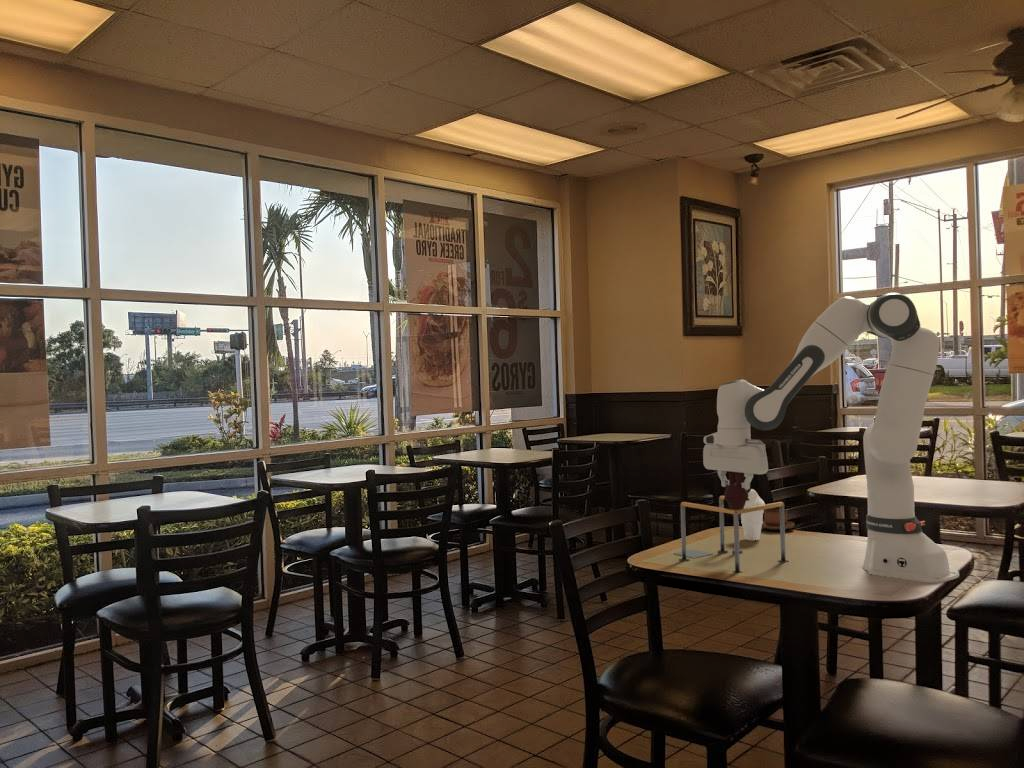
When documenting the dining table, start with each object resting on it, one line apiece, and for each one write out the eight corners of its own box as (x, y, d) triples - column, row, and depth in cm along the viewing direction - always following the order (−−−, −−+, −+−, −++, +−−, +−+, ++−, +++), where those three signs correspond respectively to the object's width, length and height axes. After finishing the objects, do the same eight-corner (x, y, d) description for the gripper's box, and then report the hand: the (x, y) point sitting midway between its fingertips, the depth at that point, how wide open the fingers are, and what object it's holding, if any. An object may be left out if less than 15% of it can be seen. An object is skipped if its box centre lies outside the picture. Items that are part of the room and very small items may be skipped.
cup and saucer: (755, 525, 276) (754, 507, 276) (791, 525, 274) (791, 507, 274) (760, 532, 264) (759, 513, 264) (797, 532, 262) (797, 513, 262)
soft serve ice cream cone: (733, 538, 256) (732, 488, 256) (756, 535, 258) (754, 486, 258) (748, 543, 248) (747, 491, 248) (771, 540, 250) (770, 489, 250)
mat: (713, 555, 233) (713, 553, 233) (694, 559, 228) (694, 557, 228) (692, 550, 239) (692, 549, 239) (673, 554, 235) (673, 553, 235)
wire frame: (788, 563, 221) (787, 502, 220) (737, 575, 209) (736, 511, 209) (729, 550, 238) (727, 494, 238) (679, 561, 226) (677, 502, 226)
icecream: (755, 525, 220) (755, 471, 220) (732, 527, 217) (731, 472, 217) (740, 521, 226) (740, 468, 226) (718, 523, 224) (717, 470, 224)
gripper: (772, 439, 215) (773, 490, 215) (714, 435, 232) (715, 483, 232) (757, 440, 211) (758, 493, 212) (699, 437, 228) (700, 485, 229)
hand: (735, 487), depth 222 cm, fingers open, 6 cm apart
